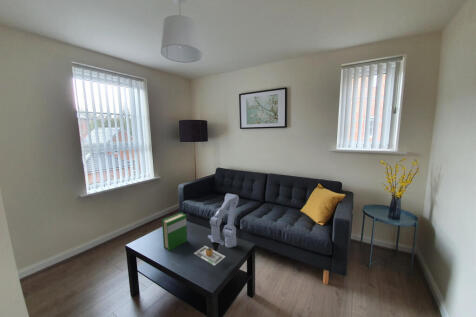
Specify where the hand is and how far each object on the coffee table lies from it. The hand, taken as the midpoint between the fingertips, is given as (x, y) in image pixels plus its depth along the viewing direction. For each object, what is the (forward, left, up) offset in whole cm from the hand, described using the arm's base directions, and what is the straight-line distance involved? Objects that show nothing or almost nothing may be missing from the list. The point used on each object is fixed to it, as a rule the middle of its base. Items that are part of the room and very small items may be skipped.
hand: (215, 250), depth 139 cm
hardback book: (+6, -41, -9) cm, 42 cm away
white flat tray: (0, -7, -8) cm, 11 cm away
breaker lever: (0, -7, -7) cm, 10 cm away
